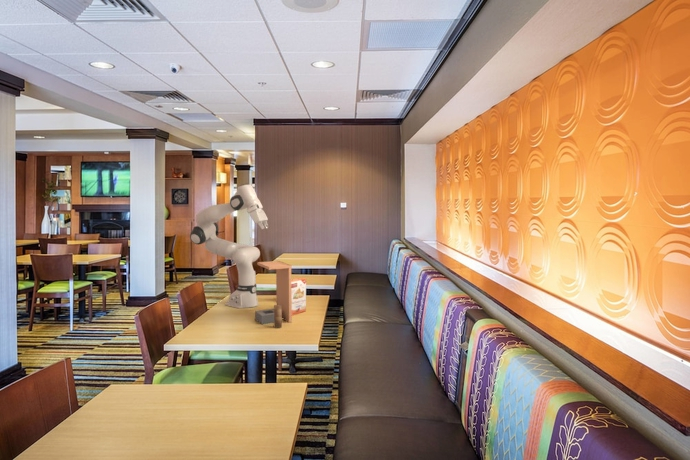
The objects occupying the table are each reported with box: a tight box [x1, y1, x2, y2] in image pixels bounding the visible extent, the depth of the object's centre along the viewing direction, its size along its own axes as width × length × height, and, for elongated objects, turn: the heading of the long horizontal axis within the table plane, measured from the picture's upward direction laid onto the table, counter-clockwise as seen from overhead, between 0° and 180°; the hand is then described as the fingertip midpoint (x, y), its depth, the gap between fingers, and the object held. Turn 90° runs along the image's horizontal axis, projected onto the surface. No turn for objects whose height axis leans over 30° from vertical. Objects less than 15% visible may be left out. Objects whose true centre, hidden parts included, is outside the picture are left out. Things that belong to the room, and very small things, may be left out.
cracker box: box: [291, 277, 307, 316], centre depth 259 cm, size 14×6×21 cm, turn 143°
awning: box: [256, 260, 293, 324], centre depth 244 cm, size 13×20×33 cm, turn 30°
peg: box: [273, 304, 283, 329], centre depth 230 cm, size 4×4×12 cm
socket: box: [254, 308, 274, 325], centre depth 243 cm, size 12×12×5 cm
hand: (265, 228), depth 255 cm, fingers open, 8 cm apart
